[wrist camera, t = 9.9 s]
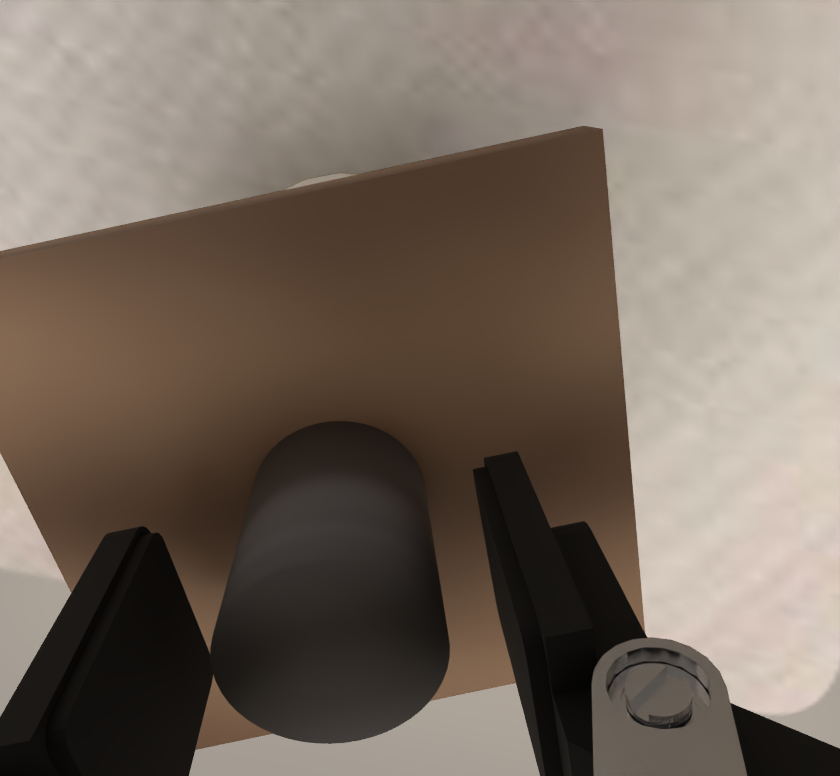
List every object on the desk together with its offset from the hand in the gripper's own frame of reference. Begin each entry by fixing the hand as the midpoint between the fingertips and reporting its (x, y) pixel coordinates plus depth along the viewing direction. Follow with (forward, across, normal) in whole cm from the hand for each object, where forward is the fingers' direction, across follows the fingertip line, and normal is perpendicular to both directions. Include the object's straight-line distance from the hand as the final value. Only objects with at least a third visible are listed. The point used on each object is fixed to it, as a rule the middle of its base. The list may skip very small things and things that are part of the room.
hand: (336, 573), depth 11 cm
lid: (+3, 0, 0) cm, 3 cm away
